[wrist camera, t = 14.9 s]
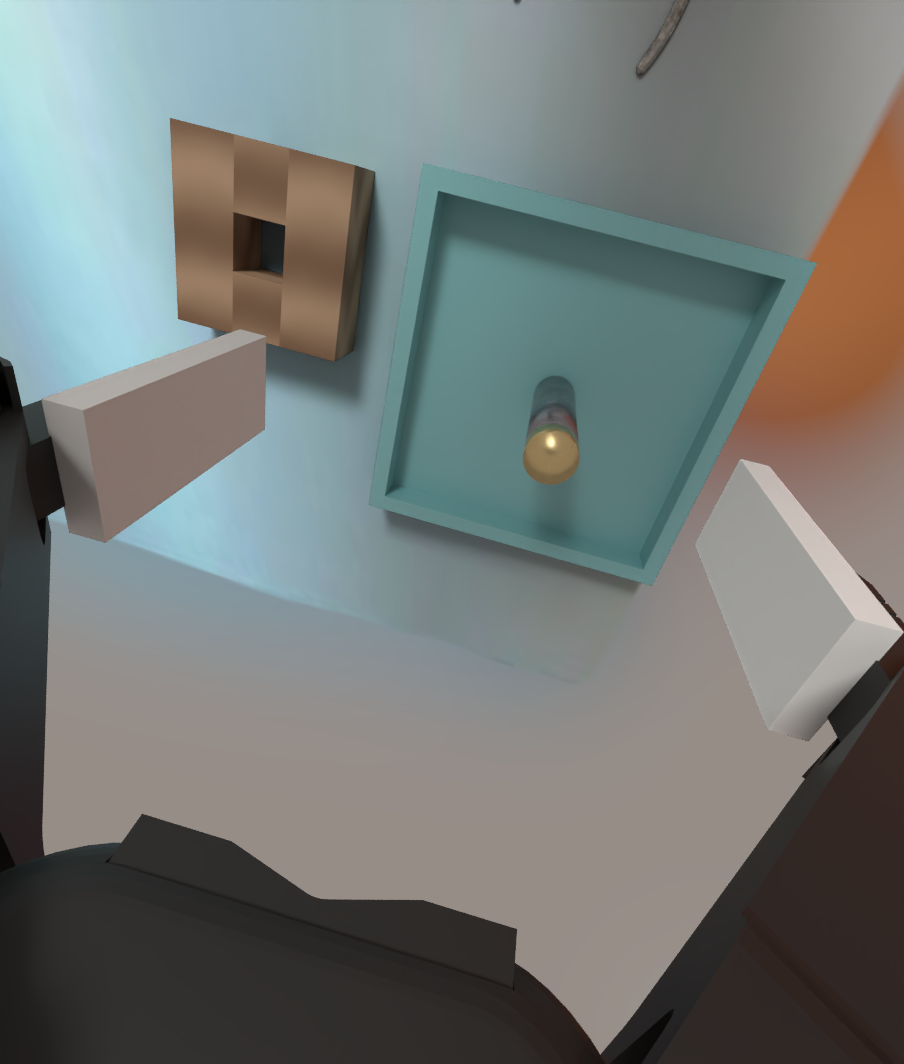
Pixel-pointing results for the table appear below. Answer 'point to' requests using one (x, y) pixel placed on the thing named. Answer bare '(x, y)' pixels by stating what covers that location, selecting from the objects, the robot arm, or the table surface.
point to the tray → (569, 367)
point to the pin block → (236, 239)
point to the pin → (552, 433)
